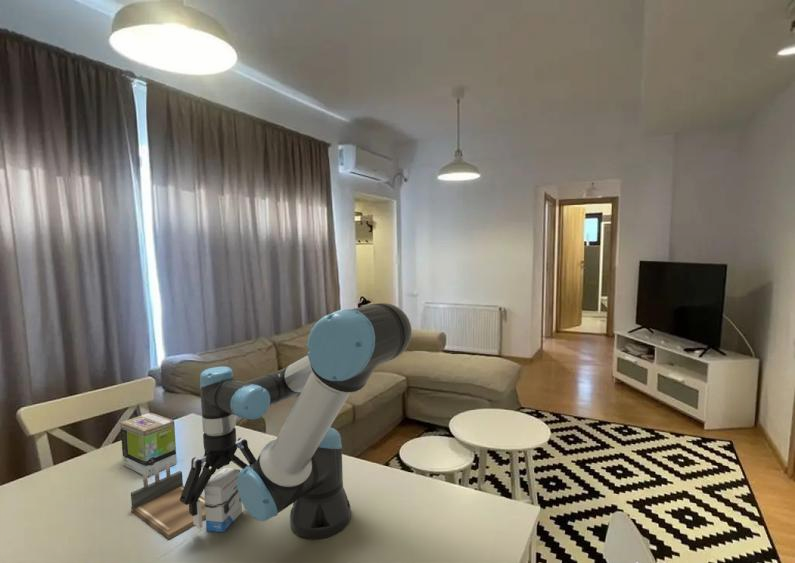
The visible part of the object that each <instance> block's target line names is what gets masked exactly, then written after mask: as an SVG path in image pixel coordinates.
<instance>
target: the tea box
mask: <svg viewBox="0 0 795 563" xmlns="http://www.w3.org/2000/svg"><path fill="white" fill-rule="evenodd" d="M175 430H176V427H175V420H174V419H171V418H168V417H165V416H162V415H159V414H157V413H154V412H148V413H144V414H142V415H139V416H136V417H132V418H129V419H126V420H124V421H123V420H122V421H120V437H121V452H122V465H123V466H125V467H127V468H129V469H130V470H132V471H134V472H136V473H138V474H140V475H142V476H143V473H144V472H147V478H148V477H150V476H153V475H155V471H154V468H156V467H159V473H160V472H161V471H165V470H166V463H168V462H169V463H170V468H171V467H172V466H174V465H177V463H178V462H177V461H178V460H177V446H176V445H177V444H176V431H175Z"/></svg>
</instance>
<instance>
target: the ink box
mask: <svg viewBox="0 0 795 563" xmlns="http://www.w3.org/2000/svg"><path fill="white" fill-rule="evenodd" d="M240 471H241V469H238V468H237V469H235V468H230V467H229V468H228V467H223V468H221V470H219V471H218V472H217V473H216V474H214V476H213V475H212V476H211V477H210V479H209V481H208V483H207V485H206V486H205V488H204V490H203V492H204V498H205V512H206V519H205V529H206V531H207V532H217V533H224V532H226V530H227V529H228V528H229V527H230V526H231V524H233V523H234V522H235V521H236V519H238V517H239V516H240V515H241V514H242V512H243V503H242V501H241V499H240V496H239V493H238V489H237V477H238V474H239V473H240Z"/></svg>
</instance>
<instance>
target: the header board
mask: <svg viewBox="0 0 795 563" xmlns="http://www.w3.org/2000/svg"><path fill="white" fill-rule="evenodd" d="M154 471H155V474H154V482H151V483H150V484H148V482H149V481H148V477H147V472H144V473H143V475H142V482H143V483H142V485H143V487H140V488H139V489H136V490H135V491H132V492H130V500H131V502H130V503H131V506H130V507H131V508H130V509H131V512H132V513H134V514H135V515H136V516H137V517H139V518H140V519H141V520H142V521H143V522H145V523H146V524H148V525H149V526H150V527H152V528H153V529H155V531H157V532H158V533H159V534H161V535H162V536H163V537H164V538H166V539H167V540H171V539H173V538H174V537H176V536H178V535H179V534H181V533H183V532H185V531H187V530H188V529H190V528H192V527H194V526H195V525H194V524H193V516H192V515H191V514H190V513H189V504H188V505H185V504H184V503H182V502H181V501H180V497H181V494H182V492H183V489H184V486H185V485H184V484H183V483H184V480H183V471H181V470H179V471H177V472H174V473H173V474H171V467H170V463H169V462H168V463H166V469H165V474H166V475H165V477H163V478H160V472H159V467H156V468H154ZM199 500H200V501H201V508H202V522H203V521H206V512H205V497H204V496H202V495H201V496H200V497H199Z"/></svg>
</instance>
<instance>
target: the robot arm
mask: <svg viewBox="0 0 795 563" xmlns="http://www.w3.org/2000/svg"><path fill="white" fill-rule="evenodd" d="M412 330H413V329H412V324H411V322H410V318H409V317H408V316H407V314H406V313H405V312H404V311H403V310H402V309H401V308H400V307H398V306H396V305H394V304H392V303H387V302H379V303H374V304H370V305H365V306H359V307H356V308H355V307H354V308H350V309H349V308H345V309H340V310H336V311H334V312H332V313H329V314H326V315H325V316H323V317H322V318H320V319H319V320H318V321H317V322H316V323H315V324H314V326H312V328H311V330H310V332H309V335H308V338H307V344H306V346H307V348H308V350H309V351H308V352H307V355H305V356H303V357H302V358H300V359H299V360H296V361H295V362H292V363H291V364H289V365H288V366H286V367H284V368H281V369H279V370H277V371H275V372H272V373H269V374H265V375H263V376H260V377H256V378H252V379H250V380H246V381H240V380H237V379H234V377H235V375H234V373H233V372H234V371H233V370H232V368H231V367H229V366H216V367H215V366H214V367H210V368H206V369H204V370H203V371H202V372H201V373H200V376H199V377H200V378H199V379H200V380H199V381H200V384H199V390H200V406H201V415H202V416H201V421H202V432H203V434H202V437H203V438H202V439H203V442H202V443H203V449H204V455H203V456H202V457H198V458H197V457H195V456H194V457H193V458H192V459H191V461H190V463H191V466H190V467H191V468H190V471H189V472H188V476H187V477H186V478H187V479H186V481H185V484H184V485H183V486H184V489H183V492H182V494H181V497H180V501H181V502H182V503H184V504H185V505H188V504H189V513H190V514H191V515H192V516H193V524H194V526H195V527H197V528H198V529H201V528H203V521H202V508H201V501H200V500H199V497H200V496H202V494H203V492H204V488H205V486H206V485H207V483H208V481H209V480H210V479H211V478H212V477H213V475H215V473H216V471H217V470H220V469H223V468H224V467H225V466H226V467H227V466H229V465H230V463H231V462H232V463H234V464H235V465H236V466H238V467H239V468H240V473H239V474H238V477H237V489H238V493H239V496H240V499H241V501H242V506H243V507H244V509H245V510H246V511H247V513H248V514H249V515H250V516H251V517H252V518H254V519H255V520H258V521H260V522H266V521H268V520H270V519H272V518H274V517H277V516H278V514H279V513H281V512H282V511H284V510H286V509H287V508H288V507H290V505H292V507H291V509H290V513H289V521H290V522H289V525H290V528H291V530H292V532H293V533H294V534H295V535H296V536H298V537H301V538H305V539H308V540H309V539H310V540H315V539H316V540H318V539H324V538H328V537H332V536H334V535H336V534H338V533H340V532H341V531H342V530H344V529H345V528H346V527H347V526H348V525H349V523H350V521H351V519H352V510H351V508H352V507H351V503H350V501H349V499H348V496H347V493H346V491H345V488H344V481H343V479H344V477H343V473H344V472H343V444H342V438H341V434H340V432H339V431H338V430H337V429H336V428H333V427H332V425H333V423H334V421H335V420H336V418H337V416H338V415H339V413H340V412H341V410H342V408H343V407H344V405H345V403H346V401H347V400H348V398H349V396H350V395H351V394H355V393H358V392H360V391H361V390H362V389H363V388H364V387H365V385H366V384H367V382H368V381H369V379H370V377H371V376H372V374H373V372H374V371H375V370H376V368H377V367H379V366H381V365H382V364H385V363H388V362H389V361H392V360H394V359H396V358H398V357H399V356H400V355H402V354H403V353H404V352H405V351H406V350H407V348H408V347H409V345H410V343H411V340H412V335H413V333H412ZM297 396H298V398H297V399H296V401H295V403H294V404H293V407H292V409H291V411H290V412H289V414H288V416H287V418H286V420H285V422H284V424H282V428H281V429H280V431H279V434H277V436H276V438H275V439H273V440H271V441H269V442H268V443H267V444H266V445H264V447H263V448H262V449H261V451H260V453H259V455H258V457H257V459H256V457H255V456H254V454H253V452H252V451H251V449H250V448H249V443H248V440H247V439H245V438H242V437H238V439H237V430H236V424H237V423H236V422H237V421H236V417H237V418H241V419H247V420H253V421H254V420H257V419H260V418H261V417H262V416H263V415H264V414H265V413H266V412H267V411H268V409H269V408H270V407H271V406H273V405H276V404H277V403H281V402H283V401H285V400H289V399H291V398H295V397H297ZM238 449H239V450H240V452H241V453H242V454H243V456H244V458H245V459H246V461H247V463H248V464H247V463H245V462H244V461H243V460H242V459H241V458H240V457H238V456H237V455H236V454H235V453H236V452H237V450H238ZM210 467H211V468H210Z"/></svg>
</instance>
